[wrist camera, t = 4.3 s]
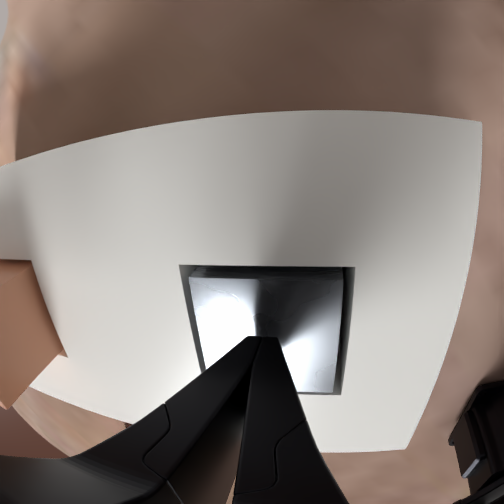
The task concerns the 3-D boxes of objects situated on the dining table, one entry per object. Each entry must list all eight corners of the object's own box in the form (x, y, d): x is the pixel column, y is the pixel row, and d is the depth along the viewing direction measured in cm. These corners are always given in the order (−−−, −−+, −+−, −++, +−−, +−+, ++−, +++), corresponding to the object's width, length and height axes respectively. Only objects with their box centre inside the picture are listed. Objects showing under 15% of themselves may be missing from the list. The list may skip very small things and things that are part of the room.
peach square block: (52, 252, 11) (-45, 319, 6) (79, 332, 13) (7, 410, 8) (4, 251, 12) (-76, 303, 7) (29, 320, 14) (-36, 381, 9)
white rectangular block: (413, 120, 11) (482, 122, 6) (389, 358, 15) (405, 448, 10) (14, 165, 15) (-59, 191, 10) (60, 328, 20) (10, 377, 15)
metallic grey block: (333, 216, 13) (343, 280, 8) (331, 302, 14) (332, 392, 9) (236, 217, 13) (188, 277, 8) (244, 300, 15) (209, 383, 10)
